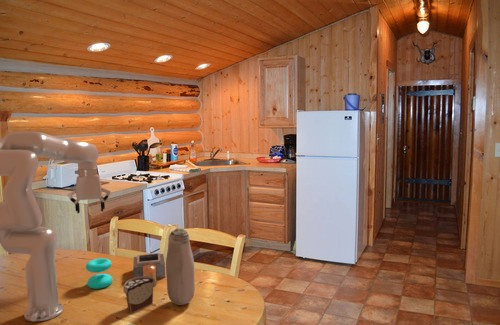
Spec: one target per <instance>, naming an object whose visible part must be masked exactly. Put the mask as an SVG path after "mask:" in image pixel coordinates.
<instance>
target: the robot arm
mask: <svg viewBox="0 0 500 325" xmlns="http://www.w3.org/2000/svg"><path fill="white" fill-rule="evenodd" d="M38 157H40V158H44V159H49V160H52V161H53V160H54V161H63V162H65V163H67V164H77V170H74V174H75V175H77V176H76V180H75V190H72V191H71V192H69V193H67V197H68V199H69V200H70V202H72V203H73V204H74V205H75V206H74V208H75V212H76V213H77V214H80V212H81V210H80V208H81V207H80V203H79V202H80V201H85V200H86V201H89V200H99V201H100V212H104V210H105V209H106V208H105V207H106V205H105V202H106V201H107V200H108V198H109V197H110V195H111V190H108V189H106V188H104V187H102V181H101V178H100V175H99V174H98V163H97V160H98V159H99V150H98V148H97V147H96V145H95V144H94V143H89V142H85V141H80V140H75V139H68V138H64V137H58V136H54V135H51V134H49V133H46V132H45V133H44V132H41V131H36V130H35V131H34V130H33V131H31V130H28V131H27V130H26V131H25V130H22V131H21V130H20V131H11V132H10V133H8V134H5V136H3V137H2V138H1V139H0V176H1V177H2V176H3V177H4V176H5V177H9V178H8V180H7V182H6V184H5V186H3V190H2V198H3V200H4V201H1V202H0V246H1V247H2V249H3V250H4V251H5V252H7V253H9V254H13V255H14V254H16V255H29V259H28V261H27V262H26V263H25V267H24V272H25V282H26V283H25V284H26V293H27V294H26V296H27V304H28V309H27V310H26V311H25V312H24V314H23V316H24V319H25V321H29V322H31V323H32V322H35V323H36V322H43V321H48V320H51V319H54V318H56V317H58V316H59V315H60V314H62V313H63V311H64V309H65V308H64V304H63V303H61V302H59V294H58V281H57V270H56V268H57V267H56V248H57V247H56V246H57V235H56V232H55V231H54V230H53V229H52V228H50V227H46V226H41V225H42V223H43V222H42V221H43V215H42V212H41V209H40V207H39V204H38V202H37V199H36V197H35V195H34V192H33V182H34V178H35V176H36V172H37V170H38V167H39V158H38ZM103 193H104V194H105V196H102V195H103ZM73 195H75V196H76V199H75V198H74V197H73Z"/></svg>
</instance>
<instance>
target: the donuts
mask: <svg viewBox="0 0 500 325" xmlns="http://www.w3.org/2000/svg"><path fill="white" fill-rule="evenodd" d="M112 265H113V264H112V260H110V259H109V258H105V257H101V258H95V259H91V260H89V261H88V262H87V263H86V264H85V269H86V270H87V271H88V272H90V273H94V275H91V276H90V277H89V278H88V279H87V282H86V285H87V287H89V289H92V290H93V289H94V290H98V289H103V288H107V287H109V286H110V285H111V284H112V283H113V280H114V278H113V277H112V276H111V275H110V274H108V273H103V272H105V271H108V270H109V269H110V268H111V267H112ZM96 273H97V274H96Z"/></svg>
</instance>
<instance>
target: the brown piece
mask: <svg viewBox="0 0 500 325" xmlns="http://www.w3.org/2000/svg"><path fill="white" fill-rule="evenodd" d="M153 282H155V280H154V277H150V276H140V277H135V278H134V277H132V278H130V279H128V280H126V281H125V283H124V285H123V289H122V290H123V293H124V294H125V297H126V298H125V299H126V303H127V309H128V310H127V311H128V313H129V314H131V315H132V314H134V313H136V312H138V311H141V310H143V309H145V308H146V307H149V306H151V305H153V303H154V287H153ZM144 307H145V308H144ZM142 308H143V309H142Z"/></svg>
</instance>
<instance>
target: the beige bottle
mask: <svg viewBox="0 0 500 325" xmlns="http://www.w3.org/2000/svg"><path fill="white" fill-rule="evenodd" d="M167 242H168V245H167V252H166V258H165V277H166V289H167V290H166V291H167V295H168V298H169V300H170V301H171V302H172V303H173V304H174V305H177V306H185V305H187V304H189V303H190V302H191V301H192V299H193V298H194V296H195V288H196V287H195V285H196V284H195V282H196V281H195V259H194V254H193V251H192V247H191V242H190V236H189V233H188V231H187V230H186V229H184V228H175V229H173V230H171V232H170V233H169V236H168V241H167Z"/></svg>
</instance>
